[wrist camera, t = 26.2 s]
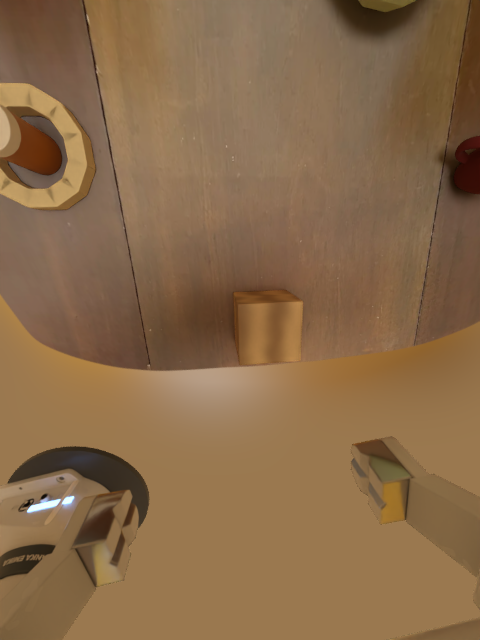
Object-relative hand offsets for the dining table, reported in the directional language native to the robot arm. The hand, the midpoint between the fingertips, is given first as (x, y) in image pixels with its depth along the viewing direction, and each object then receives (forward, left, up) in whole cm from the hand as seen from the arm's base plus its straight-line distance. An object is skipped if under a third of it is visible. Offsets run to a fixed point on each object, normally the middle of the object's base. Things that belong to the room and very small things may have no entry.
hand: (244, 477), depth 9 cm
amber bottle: (-24, +21, -34) cm, 46 cm away
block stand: (+6, -4, -34) cm, 35 cm away
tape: (-24, +20, -34) cm, 46 cm away
